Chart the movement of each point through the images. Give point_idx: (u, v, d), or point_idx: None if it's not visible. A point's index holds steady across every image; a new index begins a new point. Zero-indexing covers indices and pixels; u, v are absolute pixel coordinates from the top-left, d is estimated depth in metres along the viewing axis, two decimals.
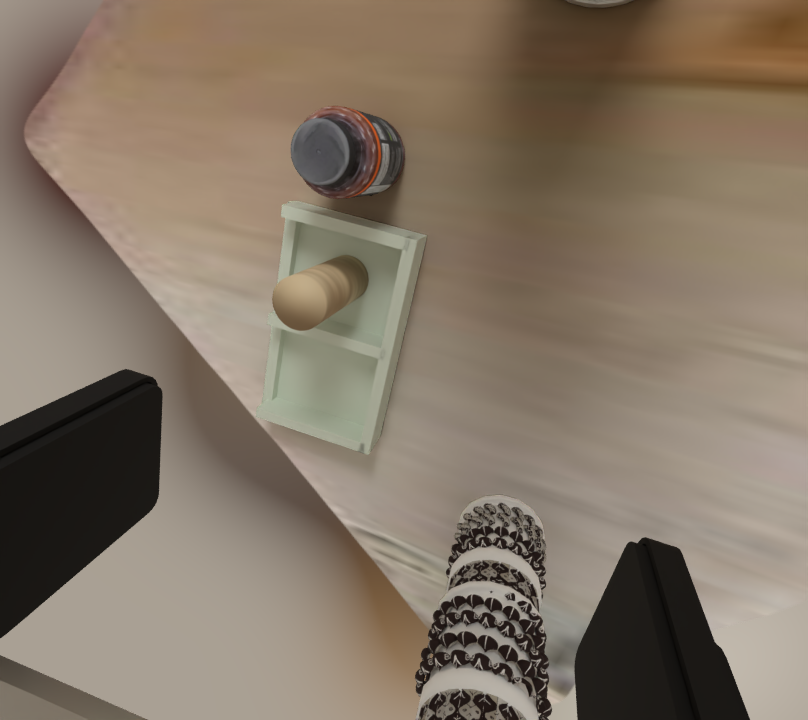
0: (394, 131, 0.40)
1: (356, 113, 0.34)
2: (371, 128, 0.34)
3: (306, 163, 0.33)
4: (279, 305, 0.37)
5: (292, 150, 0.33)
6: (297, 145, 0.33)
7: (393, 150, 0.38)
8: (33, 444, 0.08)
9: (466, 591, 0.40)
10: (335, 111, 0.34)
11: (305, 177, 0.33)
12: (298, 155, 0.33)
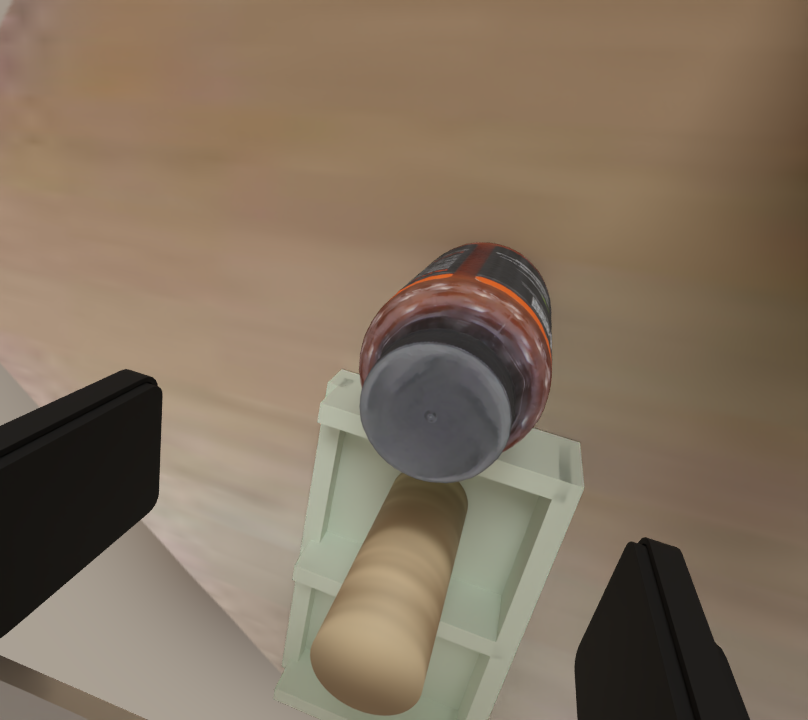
0: (539, 278, 0.21)
1: (508, 300, 0.15)
2: (540, 330, 0.15)
3: (398, 437, 0.14)
4: (324, 666, 0.18)
5: (364, 406, 0.14)
6: (377, 398, 0.13)
7: None
8: (33, 444, 0.08)
9: None
10: (460, 299, 0.14)
11: (394, 464, 0.14)
12: (378, 418, 0.14)
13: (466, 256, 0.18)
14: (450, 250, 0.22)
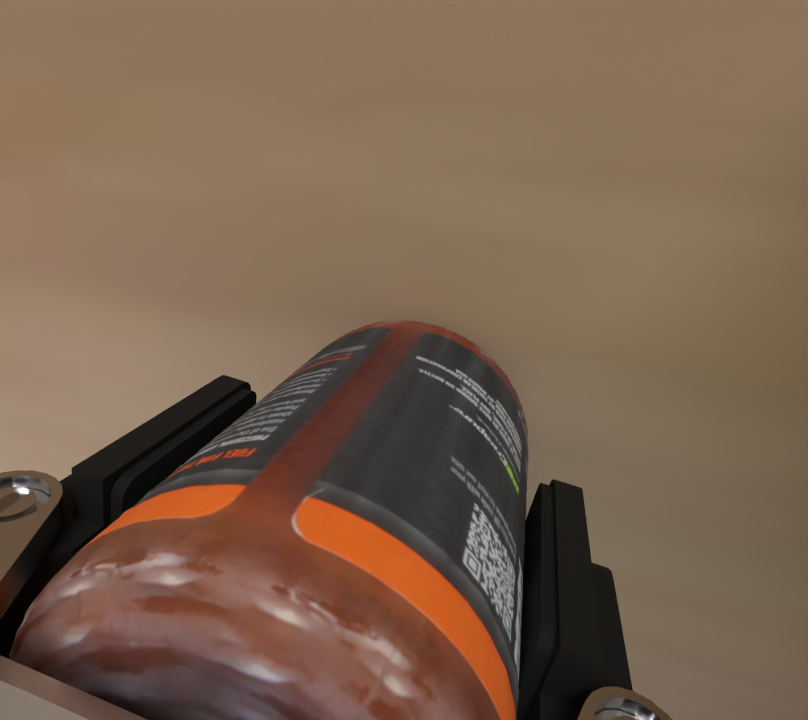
0: (505, 396, 0.11)
1: (374, 614, 0.05)
2: (476, 681, 0.05)
3: None
4: None
5: None
6: None
7: (524, 533, 0.09)
8: (165, 446, 0.08)
9: None
10: (210, 632, 0.04)
11: None
12: None
13: (341, 379, 0.09)
14: (344, 337, 0.12)
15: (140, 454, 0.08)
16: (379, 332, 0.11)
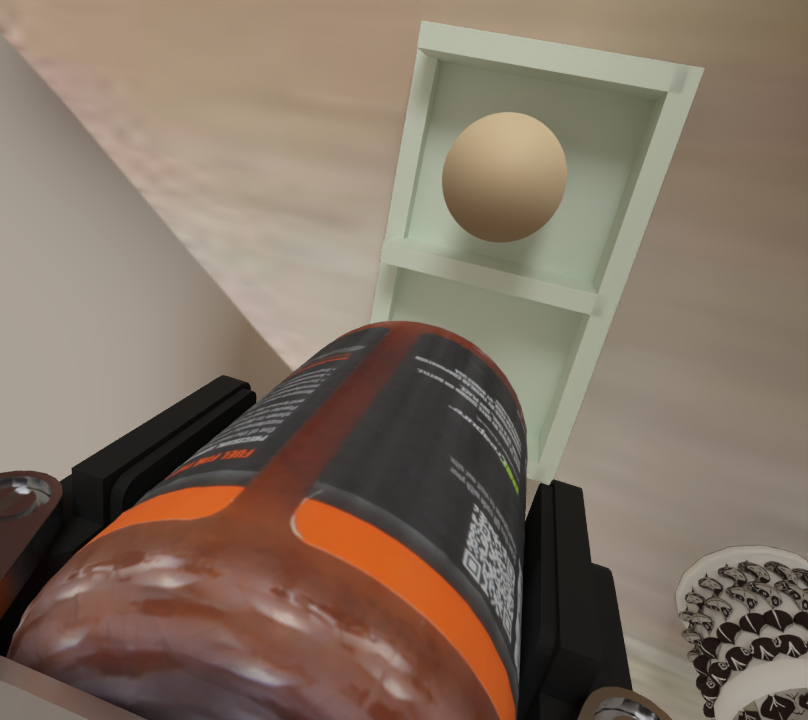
0: (504, 396, 0.11)
1: (373, 616, 0.05)
2: (476, 684, 0.05)
3: None
4: (457, 188, 0.17)
5: None
6: None
7: (523, 534, 0.09)
8: (165, 446, 0.08)
9: None
10: (208, 636, 0.04)
11: None
12: None
13: (340, 379, 0.09)
14: (343, 336, 0.12)
15: (140, 454, 0.08)
16: (378, 332, 0.11)
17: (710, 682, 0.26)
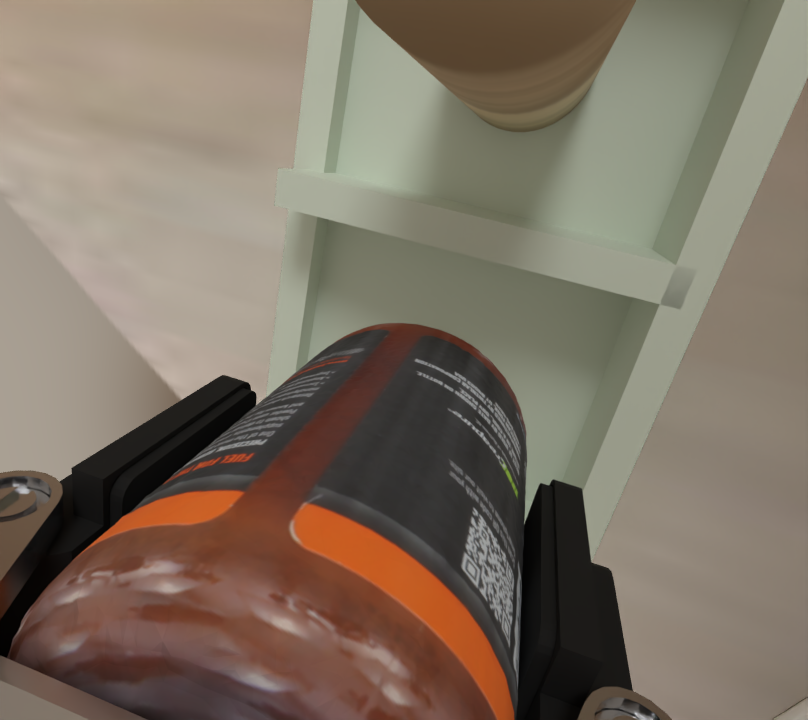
0: (504, 399, 0.11)
1: (372, 622, 0.05)
2: (475, 689, 0.05)
3: None
4: None
5: None
6: None
7: (523, 537, 0.09)
8: (165, 446, 0.08)
9: None
10: (206, 641, 0.04)
11: None
12: None
13: (340, 382, 0.09)
14: (342, 339, 0.12)
15: (140, 454, 0.08)
16: (377, 334, 0.11)
17: None
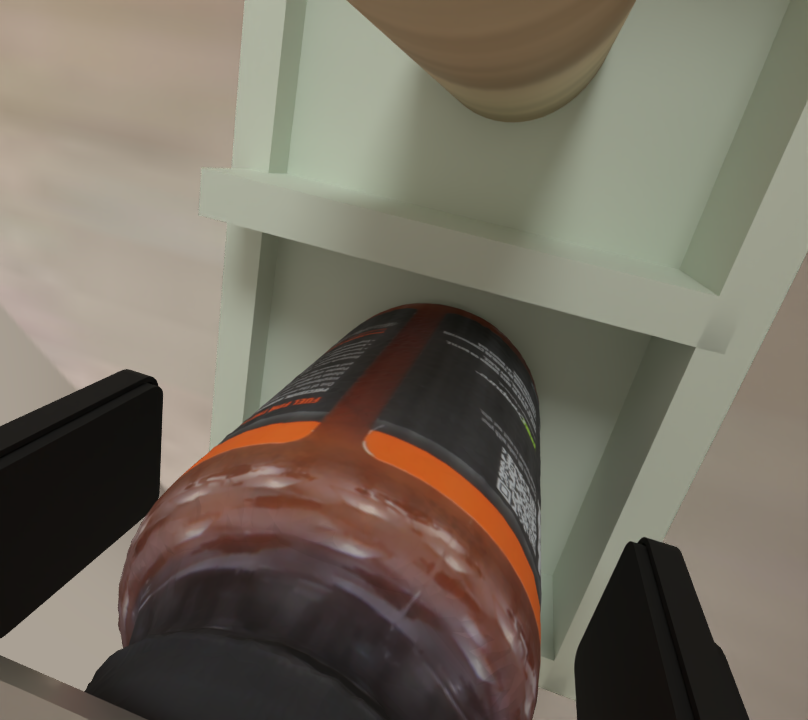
0: (520, 369, 0.12)
1: (434, 512, 0.06)
2: (513, 572, 0.06)
3: None
4: None
5: None
6: None
7: None
8: (34, 444, 0.08)
9: None
10: (309, 521, 0.06)
11: None
12: None
13: (381, 348, 0.10)
14: (373, 317, 0.13)
15: None
16: (407, 312, 0.12)
17: None
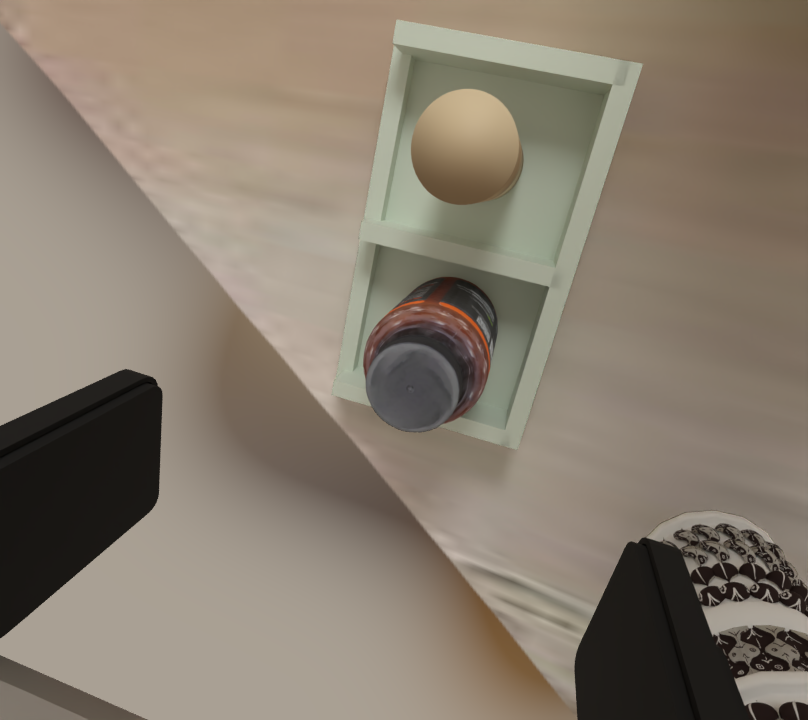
0: (488, 302, 0.29)
1: (459, 317, 0.23)
2: (480, 336, 0.23)
3: (390, 403, 0.22)
4: (424, 156, 0.20)
5: (368, 383, 0.22)
6: (377, 378, 0.22)
7: (494, 340, 0.27)
8: (33, 444, 0.08)
9: (759, 691, 0.22)
10: (429, 316, 0.23)
11: (387, 420, 0.22)
12: (377, 391, 0.22)
13: (435, 287, 0.27)
14: (425, 282, 0.30)
15: None
16: (440, 279, 0.29)
17: None
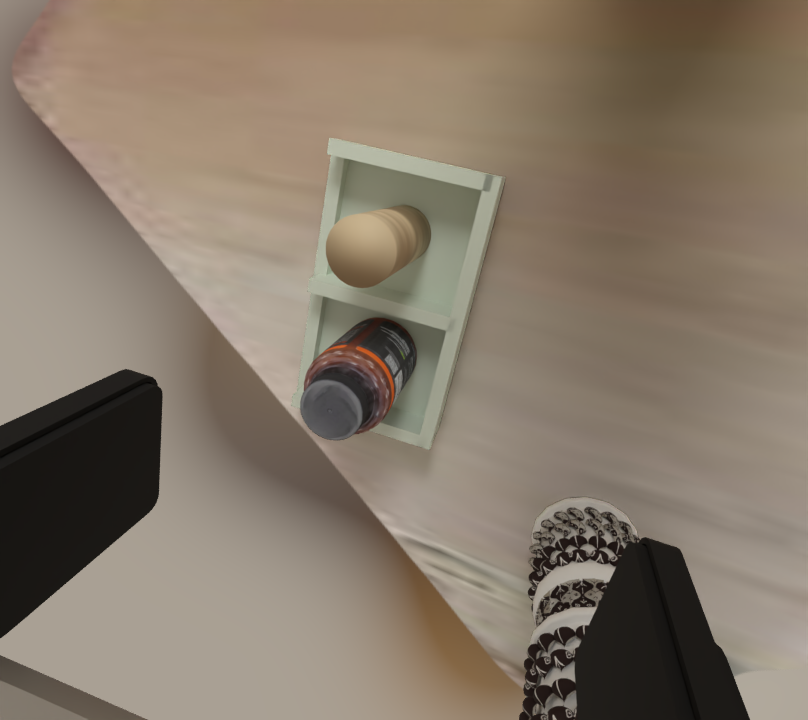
0: (406, 338, 0.39)
1: (368, 359, 0.32)
2: (384, 372, 0.33)
3: (316, 420, 0.31)
4: (334, 255, 0.29)
5: (302, 406, 0.31)
6: (307, 403, 0.31)
7: (405, 369, 0.37)
8: (33, 444, 0.08)
9: (570, 620, 0.31)
10: (346, 359, 0.32)
11: (315, 432, 0.32)
12: (308, 411, 0.31)
13: (361, 331, 0.36)
14: (360, 322, 0.40)
15: None
16: (371, 320, 0.39)
17: (533, 586, 0.38)
